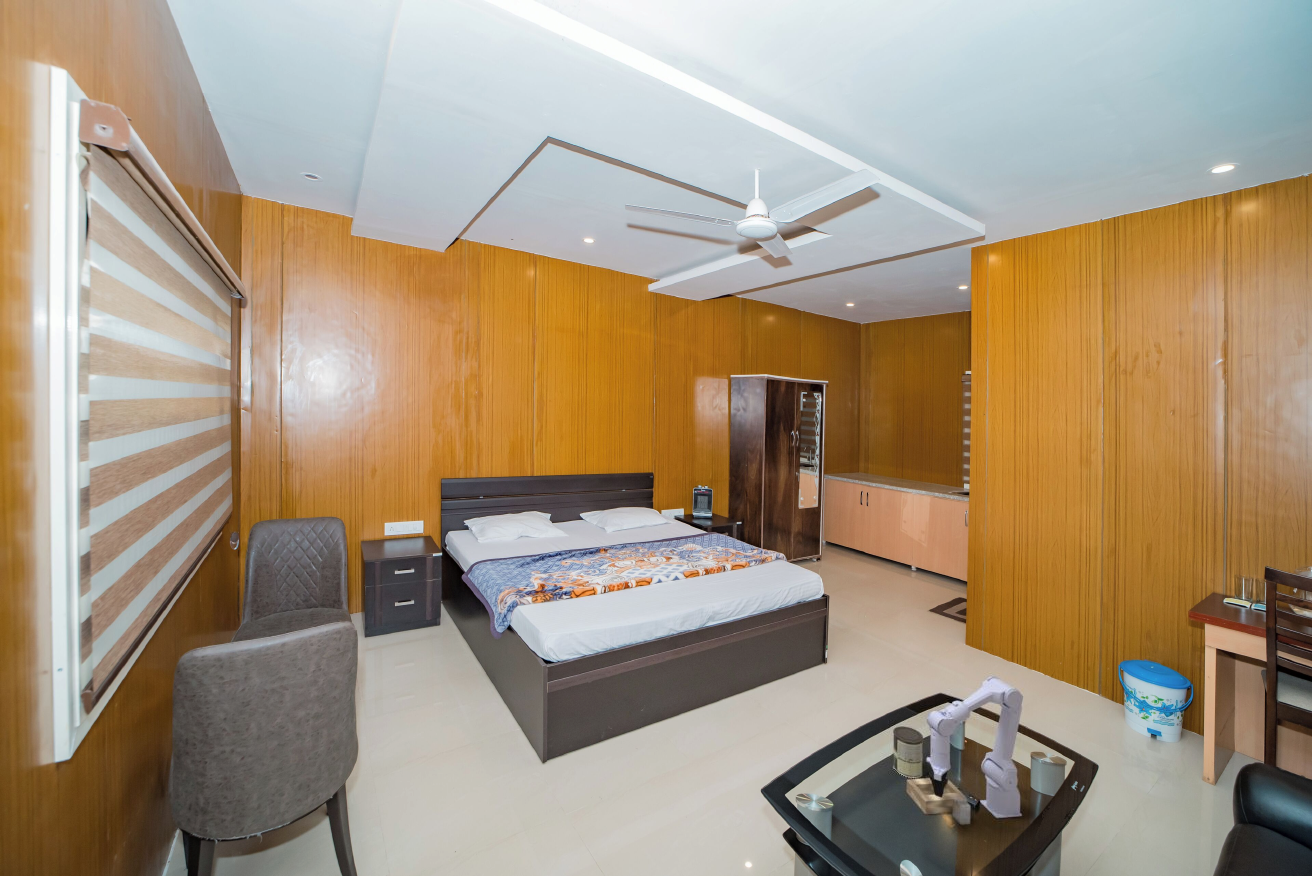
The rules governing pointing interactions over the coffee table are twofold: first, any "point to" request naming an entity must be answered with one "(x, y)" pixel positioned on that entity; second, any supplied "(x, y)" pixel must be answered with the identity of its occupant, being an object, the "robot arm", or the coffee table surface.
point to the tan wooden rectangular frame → (932, 796)
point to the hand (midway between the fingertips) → (939, 789)
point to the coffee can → (908, 752)
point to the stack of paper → (961, 810)
